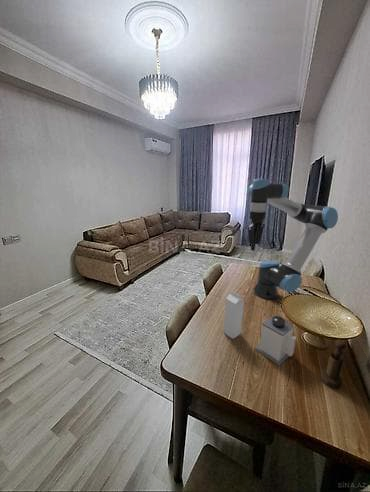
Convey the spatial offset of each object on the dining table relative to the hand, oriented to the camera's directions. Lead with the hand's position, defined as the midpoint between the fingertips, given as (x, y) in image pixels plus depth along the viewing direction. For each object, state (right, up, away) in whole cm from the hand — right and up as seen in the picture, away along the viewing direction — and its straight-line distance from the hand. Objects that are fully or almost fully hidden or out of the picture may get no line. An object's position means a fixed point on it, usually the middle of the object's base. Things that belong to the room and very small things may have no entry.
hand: (253, 255), depth 111 cm
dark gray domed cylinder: (+3, -39, -20) cm, 44 cm away
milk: (-13, -38, -9) cm, 41 cm away
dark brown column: (+18, -46, -33) cm, 59 cm away
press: (+3, -41, -20) cm, 46 cm away
